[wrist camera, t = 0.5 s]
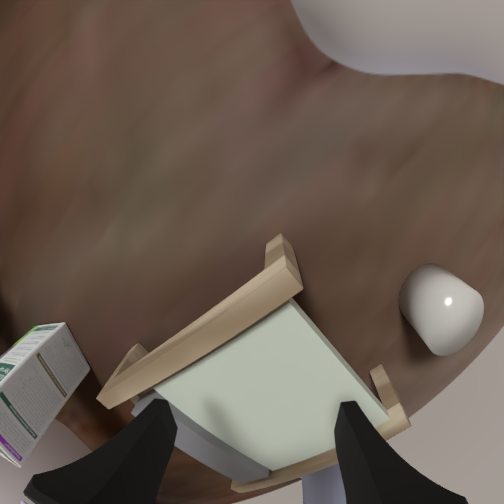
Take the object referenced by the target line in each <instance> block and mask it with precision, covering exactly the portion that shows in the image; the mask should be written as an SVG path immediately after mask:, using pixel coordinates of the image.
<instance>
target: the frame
mask: <svg viewBox="0 0 504 504" xmlns="http://www.w3.org/2000/svg"><path fill="white" fill-rule="evenodd" d="M301 290H303V285H302V281H301V277H300V273H299V269H298V265H297V261H296V257H295V254H294V250H293V247H292V245H291V244H290V243H289V242H288V240H287V239H286V238H285V237H284V235H283V234H282V233H280V234H279V235H277V236H276V237H275V238H273V239H272V240H271V241H270V242H268V243H267V244H266V255H265V269H264V271H262V272H261V273H260V274H258V275H257V276H255V277H254V278H253V279H251V280H250V281H249V282H247V283H246V284H245V285H243V286H242V287H241V288H239V289H238V290H237V291H235V292H234V293H233V294H231V295H230V296H228V297H227V298H226V299H224V300H223V301H222V302H220V303H219V304H218V305H216V306H215V307H213V308H212V309H211V310H209V311H208V312H207V313H205V314H204V315H202V316H201V317H200V318H198V319H197V320H195V321H194V322H193V323H191V324H190V325H189V326H187V327H186V328H184V329H183V330H182V331H180V332H179V333H177V334H176V335H175V336H173V337H172V338H170V339H169V340H168V341H166V342H165V343H163V344H162V345H160V346H159V347H158V348H156V349H155V350H153V351H152V352H151V353H149V352H148V351H147V350H146V349H145V348H144V347H143V346H142V345H141V344H140V343H137V344H136V345H135V346H134V347H132V348H131V349H130V351H129V352H128V353H127V355H126V356H125V358H124V359H123V360H122V362H121V363H120V365H119V366H118V367H117V369H116V370H115V372H114V373H113V374H112V376H111V377H110V379H109V380H108V382H107V383H106V384H105V386H104V387H103V389H102V390H101V392H100V393H99V394H98V396H97V397H96V399H97V400H98V401H99V402H101V403H102V404H103V405H104V406H105V407H106V408H107V409H111V408H113V407H114V406H116V405H118V404H120V403H122V402H124V401H126V400H128V399H129V400H130V401H132V402H133V403H134V404H135V405H136V403H137V401H138V399H139V397H140V396H141V395H143V394H145V393H147V392H148V391H150V390H152V389H153V387H154V385H155V384H156V383H158V382H160V381H162V380H163V379H165V378H167V377H169V376H170V375H172V374H174V373H175V372H177V371H179V370H180V369H182V368H184V367H185V366H187V365H189V364H190V363H192V362H194V361H195V360H197V359H199V358H200V357H202V356H204V355H205V354H207V353H208V352H210V351H212V350H213V349H215V348H216V347H218V346H220V345H221V344H223V343H224V342H226V341H227V340H229V339H230V338H232V337H234V336H235V335H237V334H238V333H240V332H241V331H243V330H244V329H246V328H247V327H249V326H250V325H252V324H253V323H255V322H256V321H258V320H259V319H261V318H262V317H264V316H265V315H267V314H268V313H270V312H271V311H273V310H274V309H276V308H277V307H278V306H280V305H281V304H283V303H284V302H286V301H287V300H289V299H290V298H291V297H293V296H294V295H296V294H297V293H298V292H300V291H301ZM369 372H370V374H371V377H372V379H373V382H374V384H375V387H376V389H377V392H378V394H379V397H380V399H381V402H382V404H383V406H384V407H385V408H386V410H387V412H388V415H389V418H390V420H388V421H386V422H384V423H383V424H381V425H379V426H377V427H375V429H376V430H377V431H378V432H379V434H380V435H381V436H382V437H383V439H384V440H385V441H386V440H388V439H390V438H392V437H393V436H395V435H397V434H399V433H400V432H402V431H404V430H406V429H407V428H409V427H410V426H411V423H410V421H409V419H408V416H407V414H406V412H405V410H404V407H403V405H402V403H401V401H400V399H399V396H398V394H397V392H396V390H395V388H394V386H393V384H392V381H391V379H390V377H389V375H388V373H387V371H386V370H385V368H384V367H383V365H382V364H380V365H379V366H377V367H375V368H374V369H372V370H371V371H369ZM338 463H339V462H338V458H337V453H336V447H335V448H333V449H330V450H328V451H326V452H323V453H321V454H319V455H316V456H314V457H311V458H308V459H306V460H303V461H300V462H298V463H295V464H292V465H289V466H286V467H283V468H280V469H277V470H274V471H272V470H270V469H269V477H265V478H262V479H258V480H254V481H250V482H246V483H239V482H237V481H235V480H233V479H232V484H231V489H232V490H234V491H236V492H239V493H243V492H248V491H252V490H257V489H261V488H265V487H269V486H273V485H277V484H280V483H284V482H287V481H290V480H294V479H297V478H300V477H303V476H306V475H309V474H312V473H315V472H317V471H320V470H323V469H325V468H328V467H330V466H333V465H335V464H338Z"/></svg>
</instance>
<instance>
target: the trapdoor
mask: <svg viewBox="0 0 504 504" xmlns="http://www.w3.org/2000/svg"><path fill="white" fill-rule="evenodd" d="M154 398H157V399H164V400H168V403H169V405H170V408H171V411H172V414H173V417H174V419H175V422H176V424H177V427H178V430H177V435H176V439H175V444H174V445H175V446H176V447H178V448H179V449H181V450H182V451H184V452H185V453H187V454H189V455H190V456H192V457H193V458H195V459H197V460H198V461H200V462H202V463H203V464H205V465H207V466H209V467H210V468H212V469H214V470H216V471H218V472H219V473H221V474H223V475H225V476H227V477H229V478H231V479H233V480H235V481H237V482H239V483H246V482H250V481H254V480H258V479H262V478H265V477H269V469H270V470H272V471H274V470H277V469H280V468H283V467H286V466H289V465H292V464H295V463H298V462H300V461H303V460H306V459H308V458H311V457H314V456H316V455H319V454H321V453H323V452H326V451H328V450H330V449H333V448H335V437H334V428H335V424H336V420H337V416H338V411H339V407H340V402H345V401H354V400H355V401H356V402H357V403H358V405H359V406H360V408H361V409H362V411H363V412H364V414H365V415H366V417H367V418H368V419H369V421H370V422H371V423H372V425H373V426H374V427H377V426H379V425H381V424H383V423H384V422H386V421H388V420H390V418H389V415H388V412H387V410H386V408H385V407H384V406H383V405H382V404H381V402H380V401H379V400H378V399H377V398H376V397H375V395H374V394H373V393H372V392H371V391H370V389H369V388H368V387H367V386H366V385H365V383H364V382H363V381H362V380H361V379H360V378H359V376H358V375H357V374H356V373H355V372H354V370H353V369H352V368H351V367H350V366H349V364H348V363H347V362H346V361H345V360H344V359H343V357H342V356H341V355H340V354H339V353H338V351H337V350H336V349H335V348H334V347H333V346H332V344H331V343H330V342H329V341H328V340H327V338H326V337H325V336H324V335H323V334H322V333H321V331H320V330H319V329H318V328H317V327H316V325H315V324H314V323H313V322H312V321H311V319H310V318H309V317H308V316H307V315H306V314H305V312H304V311H303V310H302V309H301V308H300V306H299V305H298V304H297V303H296V302H295V301H294V299H293V298H292V297H291V298H290V299H289V300H287V301H286V302H284V303H283V304H281V305H280V306H278V307H277V308H276V309H274V310H273V311H271V312H270V313H268V314H267V315H265V316H264V317H262V318H261V319H259V320H258V321H256V322H255V323H253V324H252V325H250V326H249V327H247V328H246V329H244V330H243V331H241V332H240V333H238V334H237V335H235V336H234V337H232V338H230V339H229V340H227V341H226V342H224V343H223V344H221V345H220V346H218V347H216V348H215V349H213V350H212V351H210V352H208V353H207V354H205V355H204V356H202V357H200V358H199V359H197V360H195V361H194V362H192V363H190V364H189V365H187V366H185V367H184V368H182V369H180V370H179V371H177V372H175V373H174V374H172V375H170V376H169V377H167V378H165V379H163V380H162V381H160V382H158V383H156V384H155V385H154V387H153V389H152V390H150V391H148V392H147V393H145V394H143V395H141V396H140V397H139V399H138V401H137V403H136V405H135V407H134V409H133V410H132V412H131V413H132V414H133V415H134V416H135V417H136V416H137V415H138V414H139V413H140V412H141V411H142V410H143V409H144V408H145V407H146V406H147V405H148V404H149V403H150V402H151V401H152V400H153V399H154Z"/></svg>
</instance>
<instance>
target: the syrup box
mask: <svg viewBox="0 0 504 504" xmlns="http://www.w3.org/2000/svg"><path fill="white" fill-rule="evenodd" d="M89 371H90V367H89V365H88V363H87V361H86V359H85V357H84V356H83V354H82V352H81V350H80V348H79V346H78V345H77V343H76V341H75V339H74V338H73V336H72V334H71V332H70V330H69V328H68V326H67V324H66V323H65V322H63V323H56V324H47V325H39V326H35V327H33V328H32V329H31V330H30V331H29V332H28V333H26V334H25V335H24V336H23V337H22V338H21V339H20V340H18V341H17V342H16V343H15V344H14V345H13V346H12V347H11V348H9V349H8V350H7V351H6V352H5V353H4V354H3V355H2V356H1V357H0V455H1V456H2V457H4V458H5V459H7V460H8V461H10V462H12V463H13V464H14V465H15V466H17V467H22V466H23V464H24V462H25V461H26V459H27V457H28V456H29V455H30V453H31V452H32V450H33V449H34V447H35V446H36V444H37V443H38V441H39V440H40V438H41V437H42V436H43V434H44V433H45V431H46V430H47V428H48V427H49V425H50V424H51V423H52V421H53V420H54V418H55V417H56V416H57V414H58V413H59V411H60V410H61V408H62V407H63V406H64V404H65V403H66V402H67V400H68V399H69V397H70V396H71V395H72V393H73V392H74V391H75V389H76V388H77V387H78V385H79V384H80V383H81V381H82V380H83V379H84V377H85V376H86V375H87V374H88V372H89Z"/></svg>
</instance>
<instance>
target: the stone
mask: <svg viewBox="0 0 504 504" xmlns="http://www.w3.org/2000/svg"><path fill="white" fill-rule="evenodd" d="M399 307H400V310H401V312H402V314H403V315H404V316H405V318H406V319H407V320H408V321H409V323H410V324H411V325H412V327H413V328H414V329H415V330H416V332H417V333H418V334H419V336H420V337H421V338H422V340H423V341H424V342H425V344H426V345H427V346H428V348H429V349H430V350H431V351H432V352H433V353H434V354H436V355H439V356H446V355H450V354H453V353H455V352H457V351H459V350H460V349H461V348H463V347H464V346H465V345H466V344H467V343H468V342H469V341H470V340H471V339H472V337H473V336H474V335H475V333H476V332H477V330H478V328H479V326H480V323H481V321H482V317H483V312H484V304H483V300H482V297H481V295H480V294H479V293H478V292H476V291H475V290H474V289H472V288H471V287H470V286H468V285H467V284H465V283H464V282H463V281H461V280H460V279H458V278H457V277H456V276H454V275H453V274H451V273H450V272H448V271H447V270H445V269H444V268H442V267H441V266H439V265H437V264H433V263H429V264H424V265H422V266H419V267H418V268H416V269H415V270H413V271H412V272H411V273H410V274H409V276H408V277H407V278H406V279H405V281H404V283H403V285H402V287H401V290H400V293H399Z"/></svg>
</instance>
